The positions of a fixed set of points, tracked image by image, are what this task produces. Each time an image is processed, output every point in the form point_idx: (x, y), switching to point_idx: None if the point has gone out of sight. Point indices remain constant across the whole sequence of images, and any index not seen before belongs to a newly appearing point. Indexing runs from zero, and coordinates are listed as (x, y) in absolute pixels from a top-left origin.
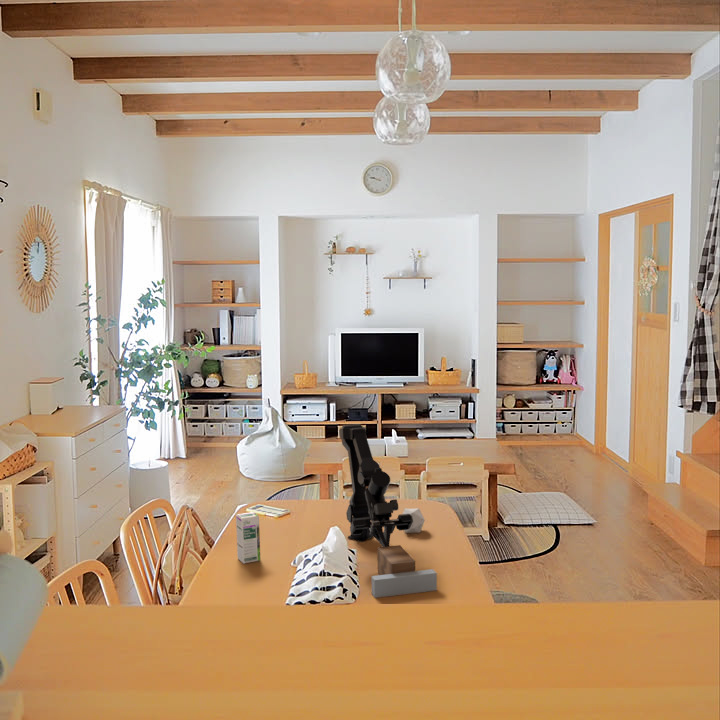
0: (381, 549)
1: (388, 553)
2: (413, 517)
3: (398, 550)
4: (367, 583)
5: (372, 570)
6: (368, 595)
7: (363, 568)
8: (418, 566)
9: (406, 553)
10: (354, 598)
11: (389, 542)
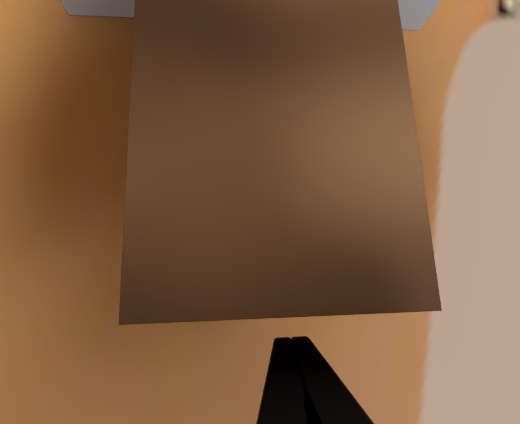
0: (403, 224)
1: (348, 78)
2: None
3: (208, 134)
4: (422, 159)
5: (361, 362)
6: (437, 17)
7: (416, 419)
8: (6, 358)
9: (149, 19)
10: (504, 8)
11: (261, 405)
